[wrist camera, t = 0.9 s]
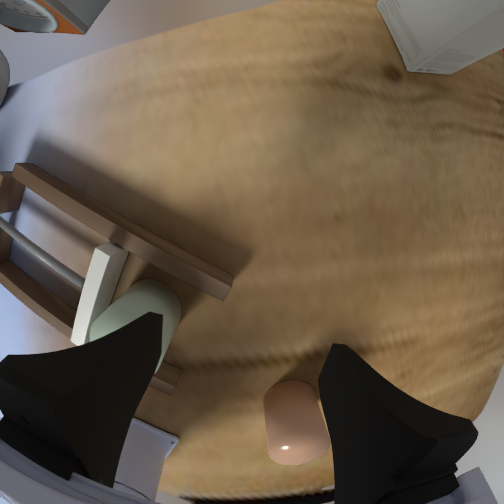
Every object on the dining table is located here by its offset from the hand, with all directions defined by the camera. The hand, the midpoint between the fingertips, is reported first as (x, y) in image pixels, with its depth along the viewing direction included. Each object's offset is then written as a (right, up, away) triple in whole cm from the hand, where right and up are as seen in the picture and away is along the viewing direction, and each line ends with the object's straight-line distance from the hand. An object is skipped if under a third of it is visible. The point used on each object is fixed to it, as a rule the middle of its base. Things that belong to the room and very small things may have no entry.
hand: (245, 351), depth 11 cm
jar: (+4, -10, +13) cm, 17 cm away
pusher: (-17, +4, +9) cm, 20 cm away
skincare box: (+15, +24, +6) cm, 29 cm away
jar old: (-8, 0, +11) cm, 13 cm away
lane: (-13, +2, +10) cm, 16 cm away
